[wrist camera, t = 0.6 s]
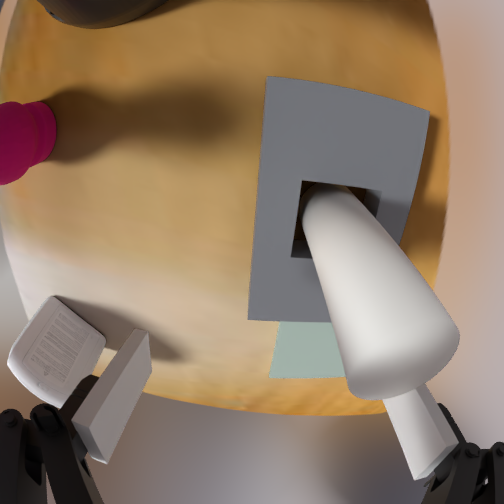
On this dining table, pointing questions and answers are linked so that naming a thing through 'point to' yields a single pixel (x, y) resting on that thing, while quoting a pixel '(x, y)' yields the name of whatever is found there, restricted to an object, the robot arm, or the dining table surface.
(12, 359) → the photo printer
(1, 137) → the pink bowling pin
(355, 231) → the plug
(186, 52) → the dining table surface
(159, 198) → the dining table surface
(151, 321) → the dining table surface
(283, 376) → the pad
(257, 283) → the grey holed plate
